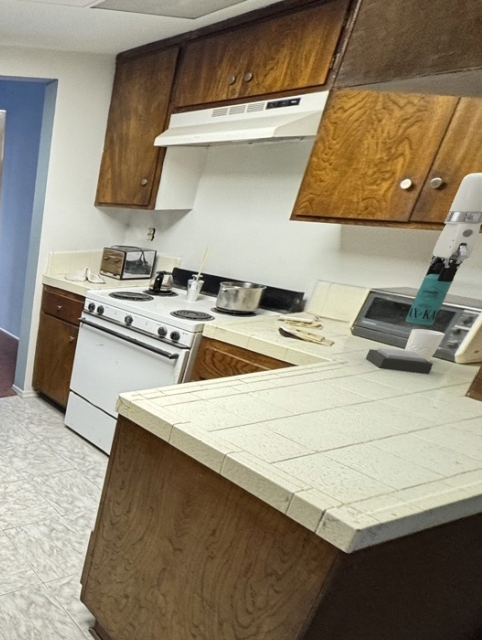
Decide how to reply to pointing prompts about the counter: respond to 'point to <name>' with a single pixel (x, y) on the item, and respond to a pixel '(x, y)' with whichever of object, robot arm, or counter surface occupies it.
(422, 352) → the white cup
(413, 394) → the counter surface
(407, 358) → the pan
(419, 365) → the scale
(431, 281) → the beverage bottle
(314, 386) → the counter surface
